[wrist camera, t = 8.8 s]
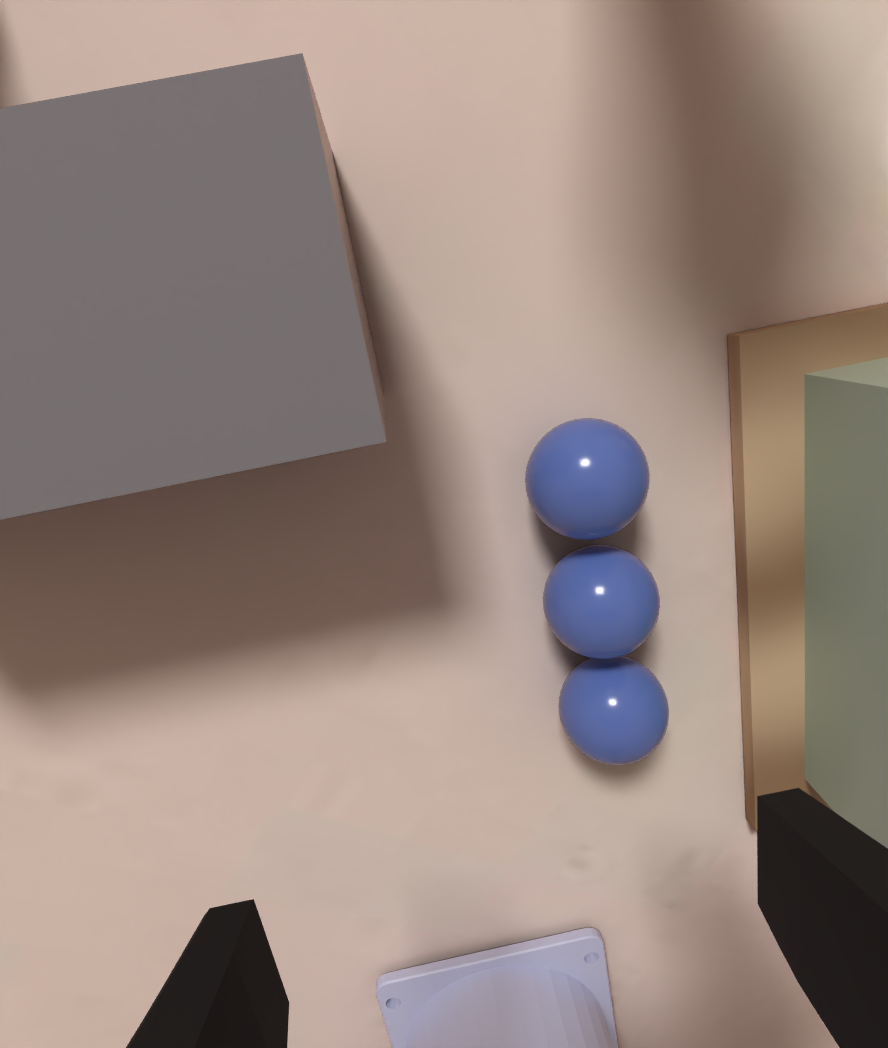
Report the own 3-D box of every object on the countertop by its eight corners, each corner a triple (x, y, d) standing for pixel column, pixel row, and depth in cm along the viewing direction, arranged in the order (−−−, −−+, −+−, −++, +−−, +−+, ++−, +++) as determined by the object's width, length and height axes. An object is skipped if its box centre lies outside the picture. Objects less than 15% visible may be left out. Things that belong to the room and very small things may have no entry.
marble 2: (638, 614, 19) (683, 667, 17) (539, 635, 19) (567, 692, 16) (630, 520, 18) (675, 559, 16) (525, 541, 18) (551, 584, 16)
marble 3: (648, 710, 21) (690, 775, 18) (553, 731, 20) (582, 799, 18) (639, 626, 20) (684, 680, 17) (541, 647, 19) (569, 706, 17)
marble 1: (628, 506, 18) (674, 543, 15) (523, 528, 18) (549, 569, 15) (618, 399, 17) (665, 417, 14) (506, 421, 17) (532, 445, 14)
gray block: (331, 148, 15) (302, 52, 9) (383, 394, 17) (386, 442, 11) (-252, 257, 14) (-657, 228, 9) (-133, 497, 16) (-405, 601, 11)
